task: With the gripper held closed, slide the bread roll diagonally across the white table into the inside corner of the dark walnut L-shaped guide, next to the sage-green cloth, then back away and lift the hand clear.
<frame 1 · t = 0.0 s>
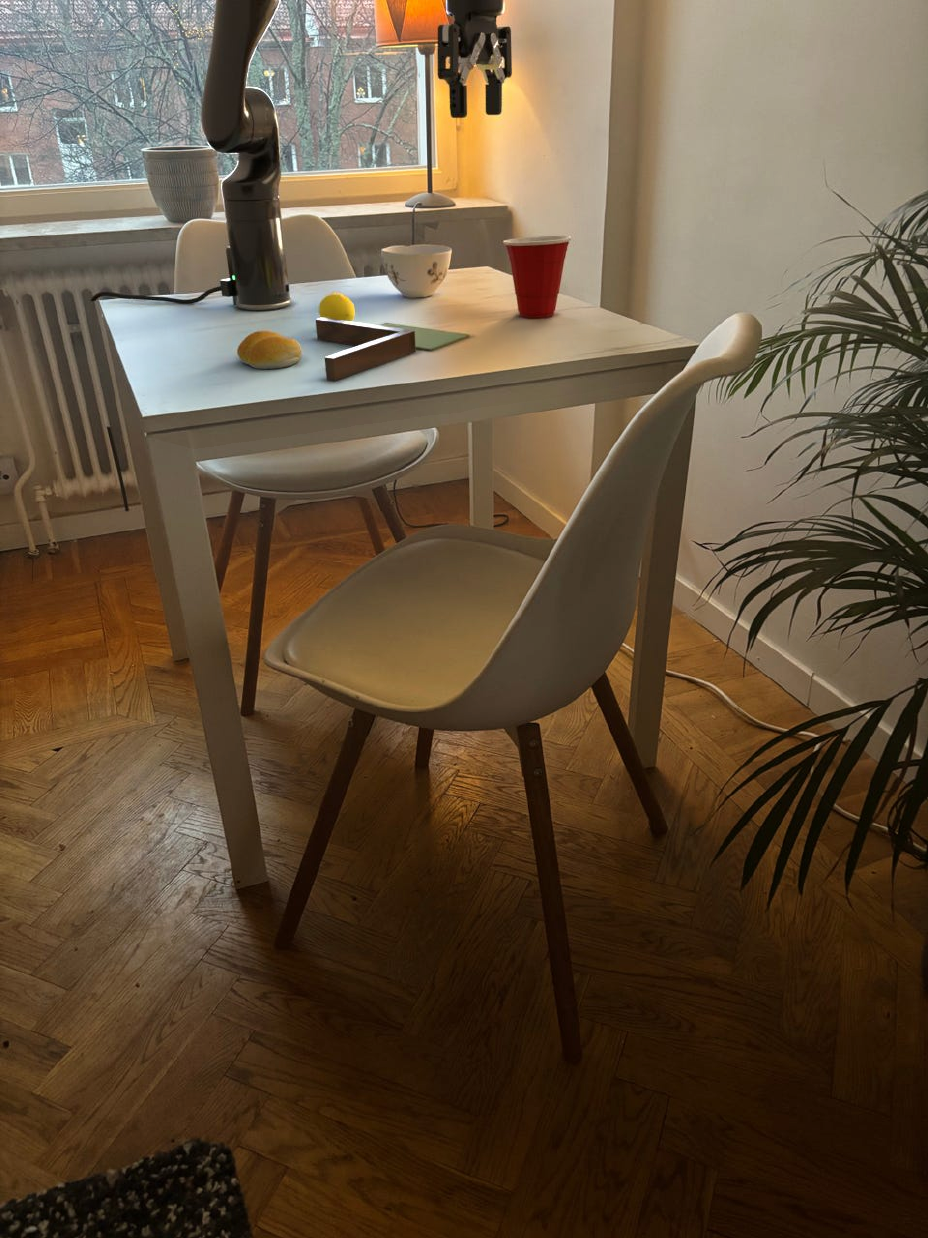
hand: (476, 116, 127), 29 cm above the table, tool pointing down, fingers open, 8 cm apart
cloth: (407, 337, 142), on the table
corner guide: (401, 352, 133), on the table
plastic cup: (535, 315, 154), on the table
lemon: (337, 329, 147), on the table
bread roll: (270, 363, 131), on the table
teacup: (414, 294, 170), on the table
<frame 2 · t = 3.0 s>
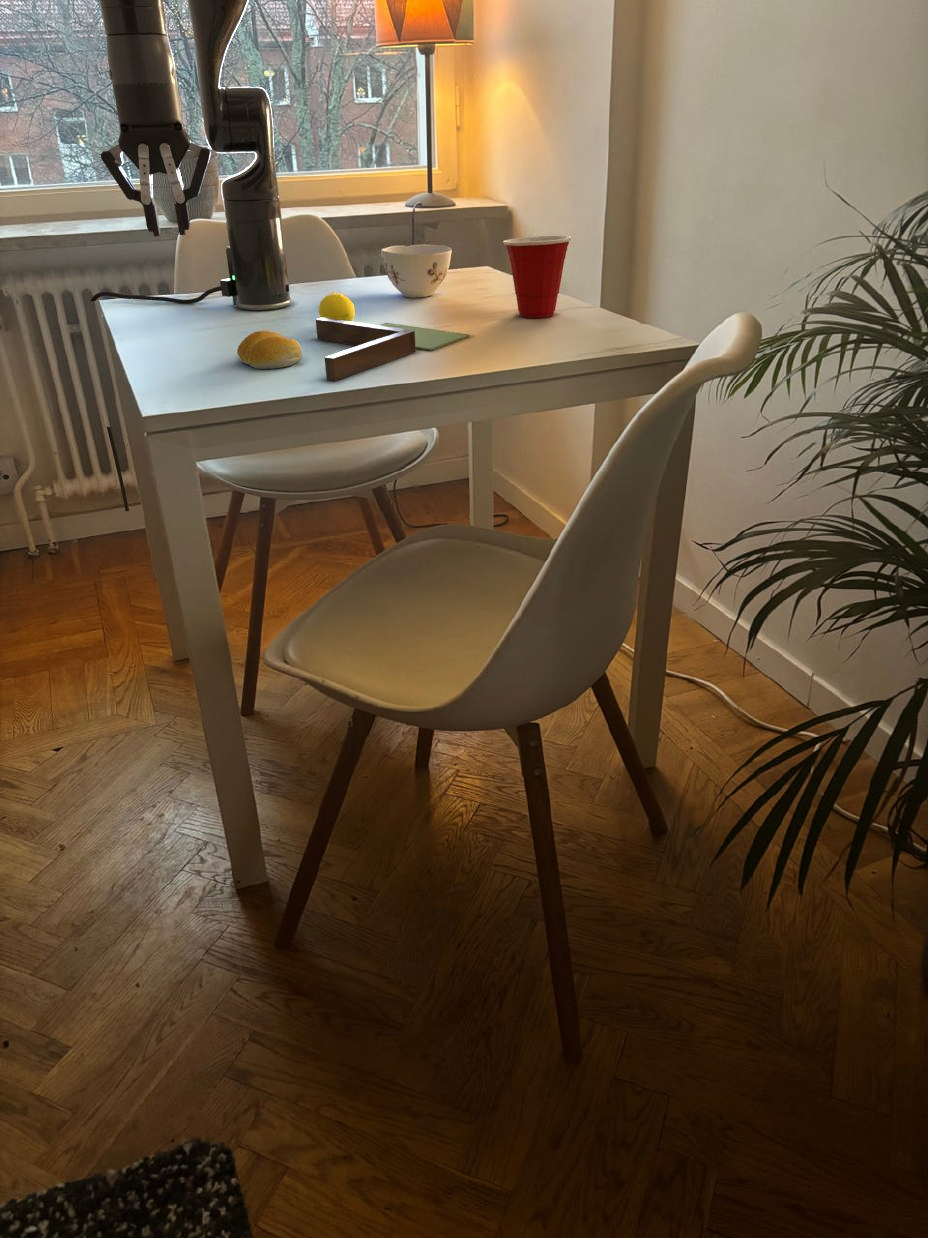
hand: (169, 234, 120), 17 cm above the table, tool pointing down, fingers closed
nothing on the table moved.
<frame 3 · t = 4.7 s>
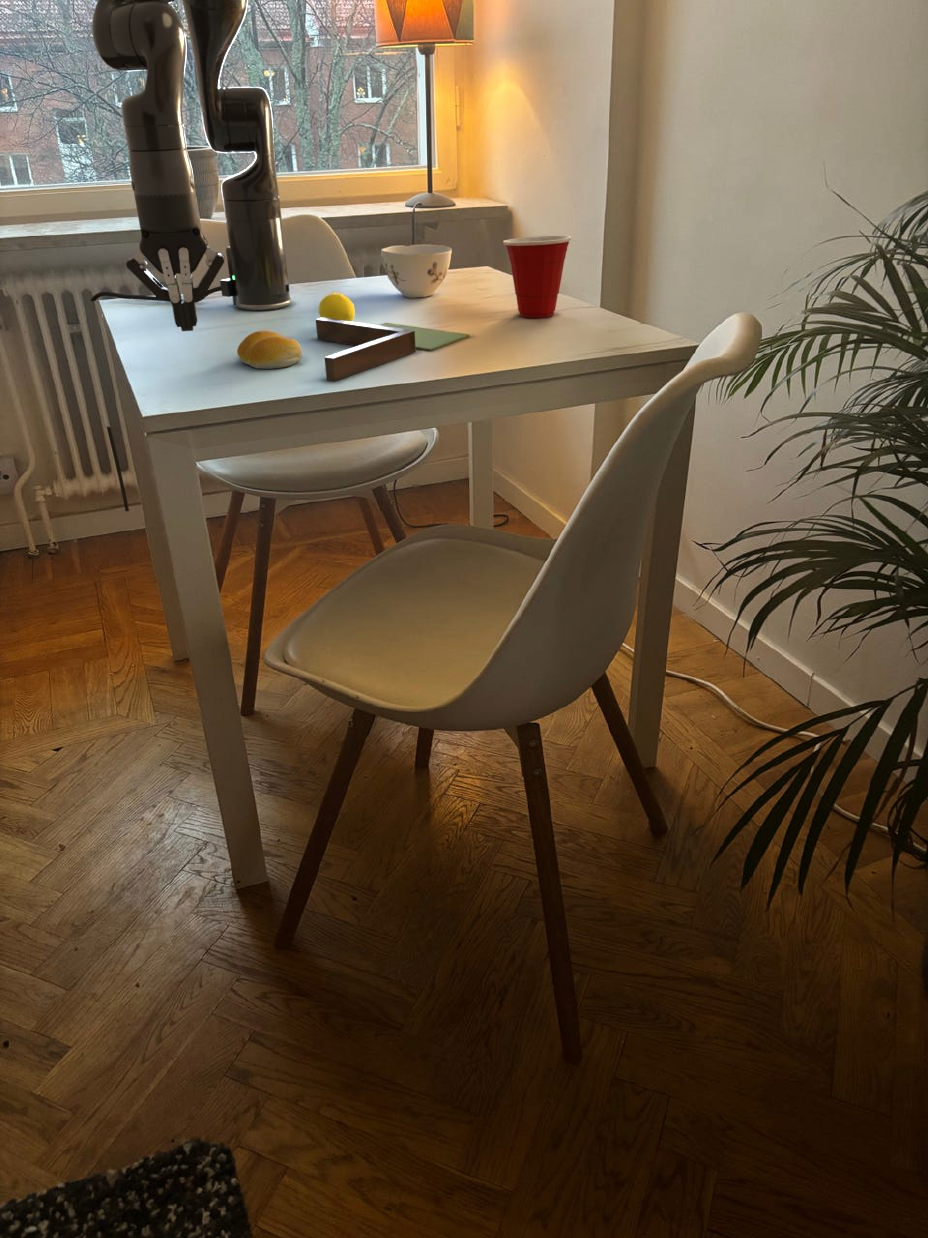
hand: (187, 329, 126), 5 cm above the table, tool pointing down, fingers closed
nothing on the table moved.
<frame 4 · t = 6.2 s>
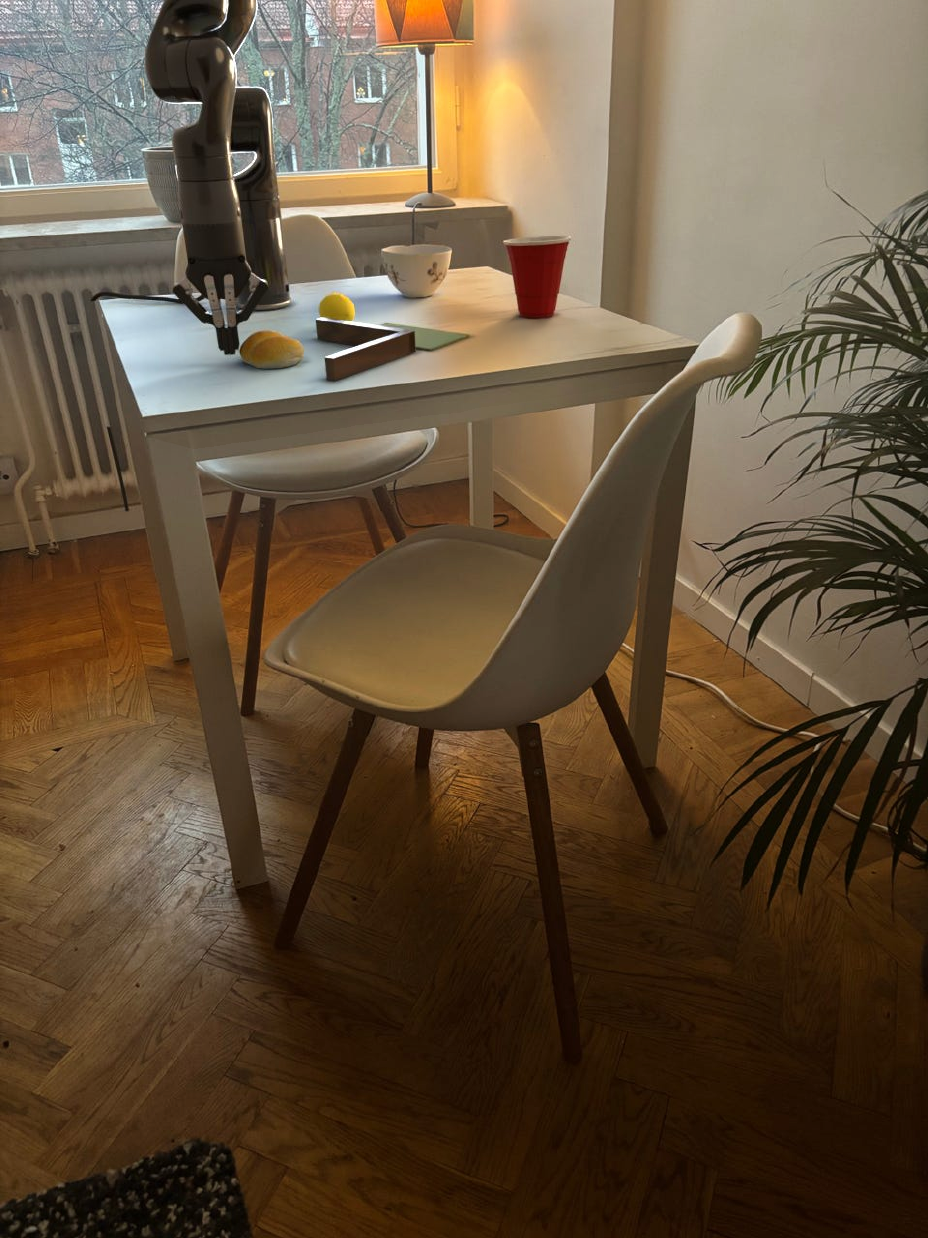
hand: (229, 353, 129), 2 cm above the table, tool pointing down, fingers closed
bread roll: (272, 362, 131), on the table, touching gripper
everything else where it was.
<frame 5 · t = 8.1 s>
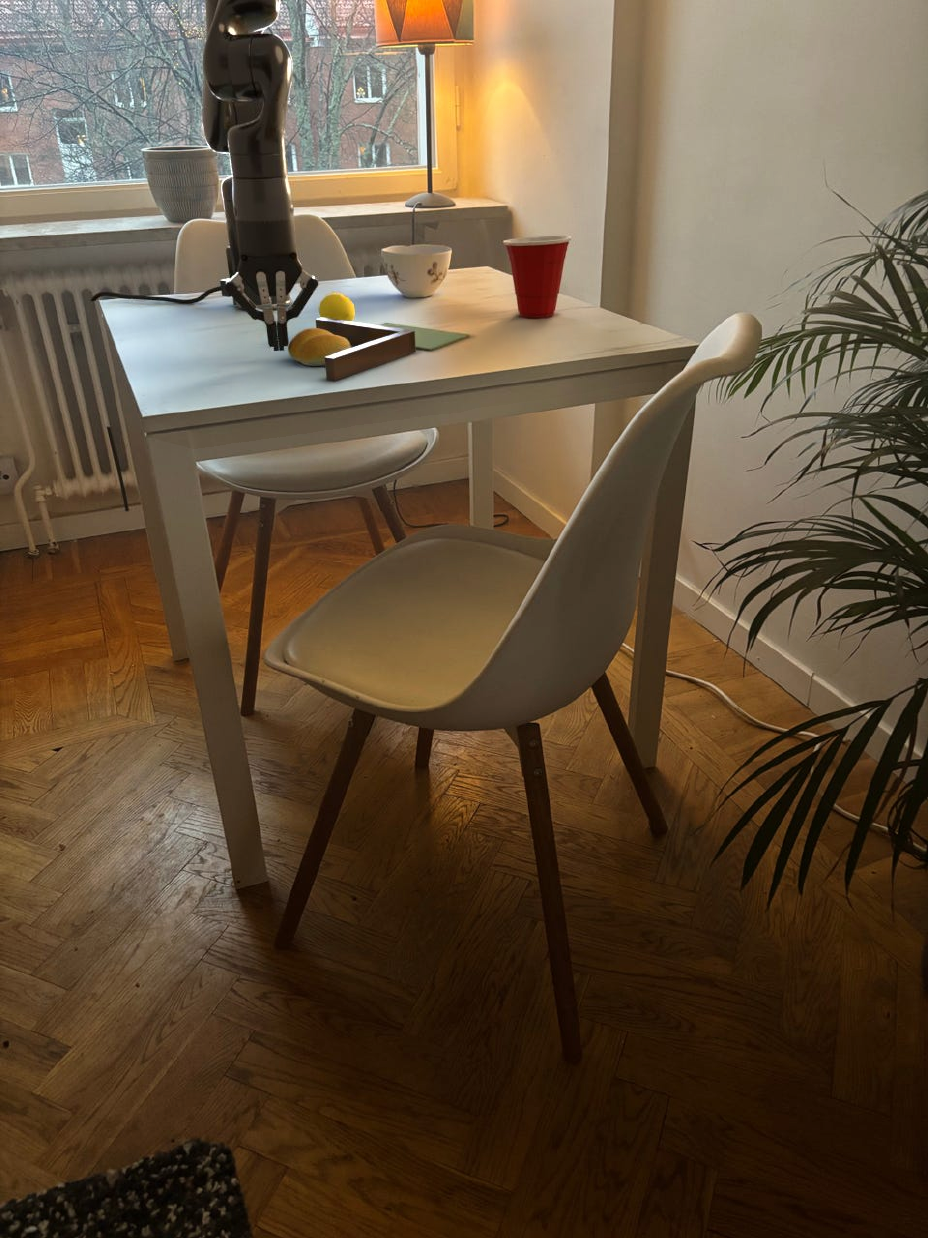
hand: (278, 349, 130), 2 cm above the table, tool pointing down, fingers closed
bread roll: (320, 360, 131), on the table, touching gripper
everything else where it was.
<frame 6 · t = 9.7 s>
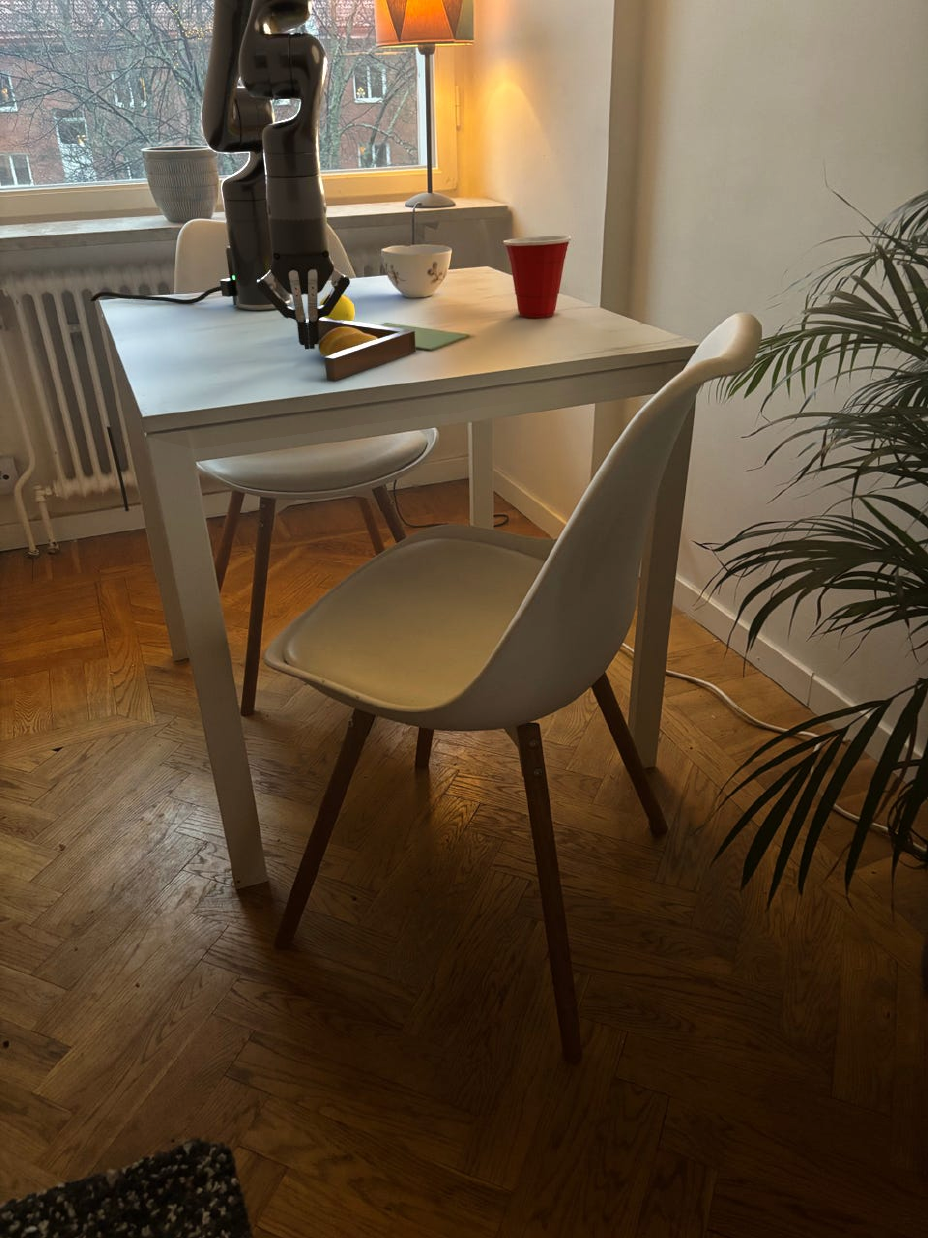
hand: (309, 347, 130), 2 cm above the table, tool pointing down, fingers closed
bread roll: (350, 358, 132), on the table, touching gripper
everything else where it was.
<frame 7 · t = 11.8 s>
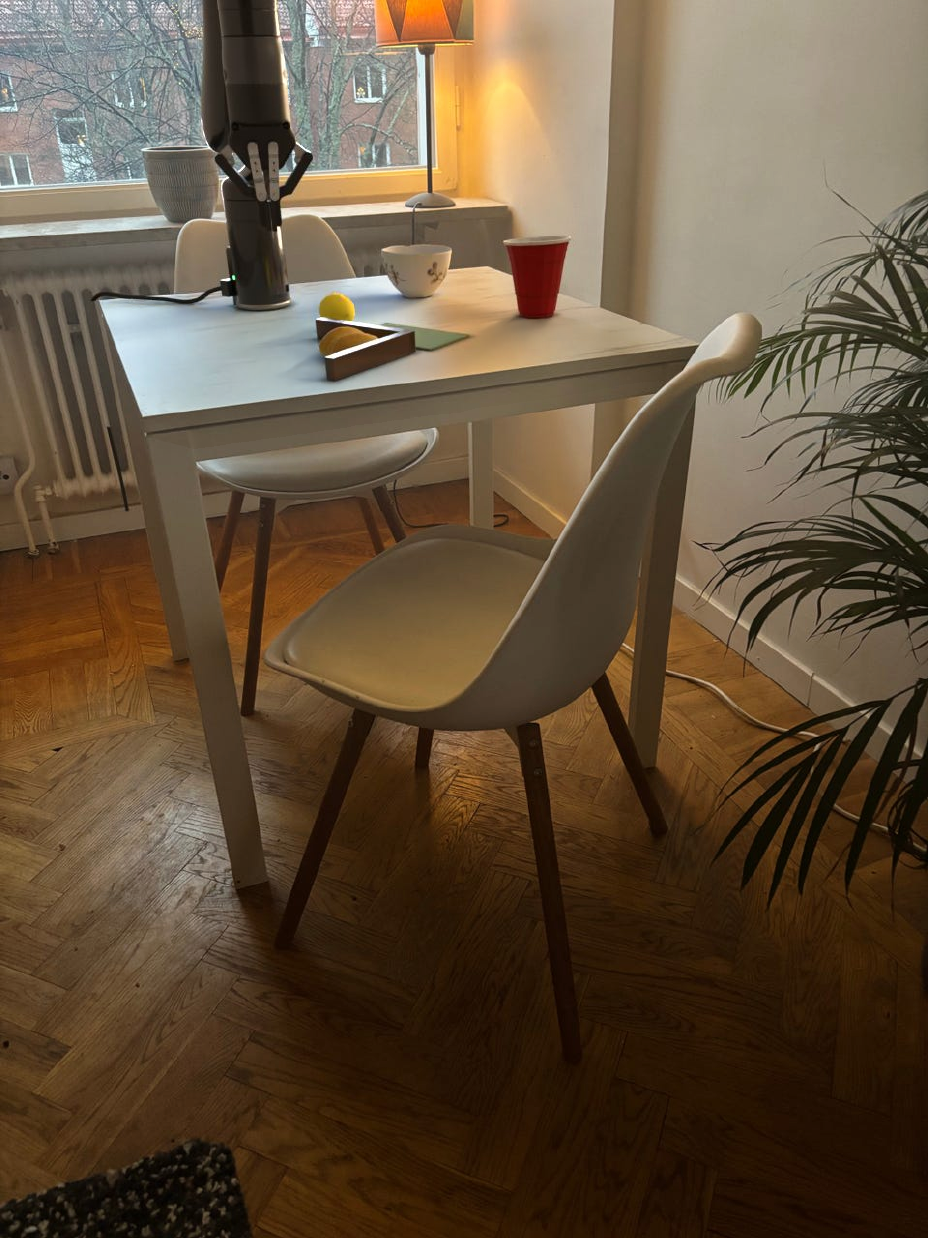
hand: (272, 230, 124), 17 cm above the table, tool pointing down, fingers closed
bread roll: (351, 358, 132), on the table
everything else where it was.
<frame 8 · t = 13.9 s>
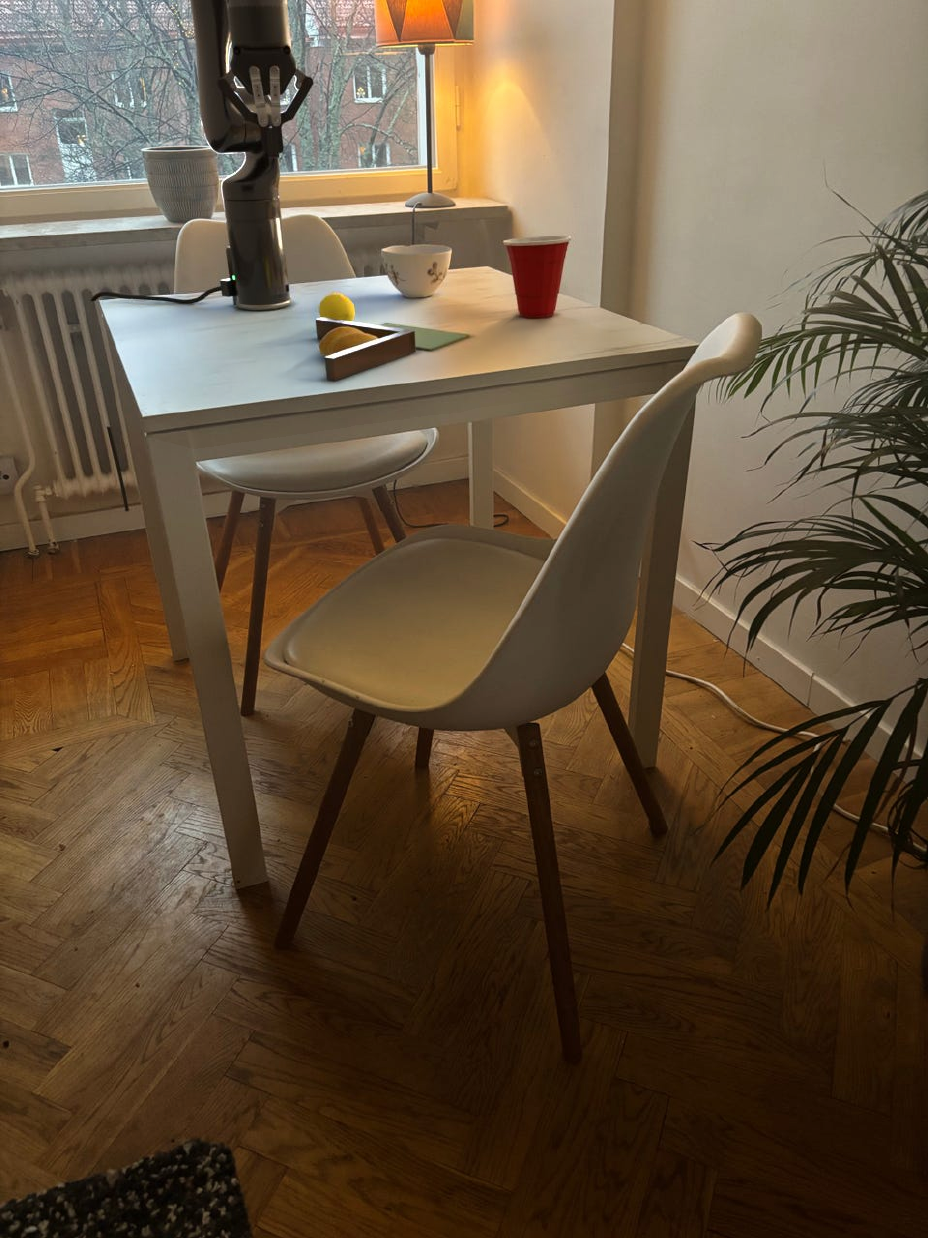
hand: (273, 157, 126), 25 cm above the table, tool pointing down, fingers closed
nothing on the table moved.
at the end: bread roll 0.6 cm from the target spot on the corner guide, point 0.0 cm above the corner guide's base; bread roll 13.5 cm from the cloth (horizontally); bread roll moved 11.2 cm from its start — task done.
